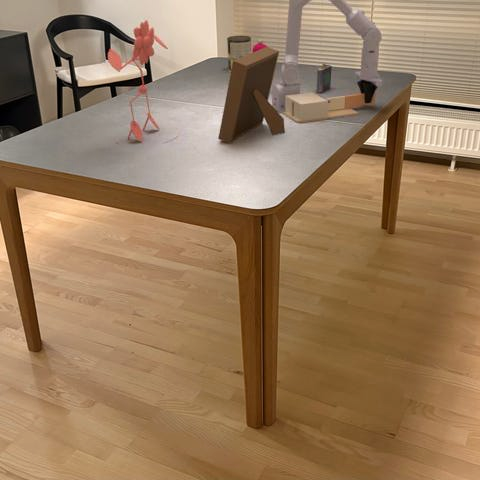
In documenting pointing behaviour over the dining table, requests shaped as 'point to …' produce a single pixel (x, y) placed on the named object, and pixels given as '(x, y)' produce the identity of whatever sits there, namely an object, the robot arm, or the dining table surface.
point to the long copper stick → (348, 101)
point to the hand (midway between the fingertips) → (366, 102)
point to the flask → (323, 78)
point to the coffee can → (238, 48)
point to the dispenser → (311, 108)
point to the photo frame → (250, 96)
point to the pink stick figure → (143, 51)
